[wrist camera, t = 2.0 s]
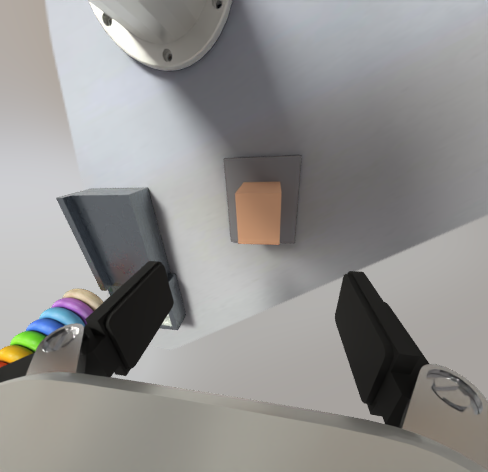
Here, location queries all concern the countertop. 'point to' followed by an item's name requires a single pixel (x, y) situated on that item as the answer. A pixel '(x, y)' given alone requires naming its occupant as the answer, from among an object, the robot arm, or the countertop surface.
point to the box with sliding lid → (119, 238)
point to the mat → (266, 171)
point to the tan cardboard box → (258, 213)
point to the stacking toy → (51, 323)
